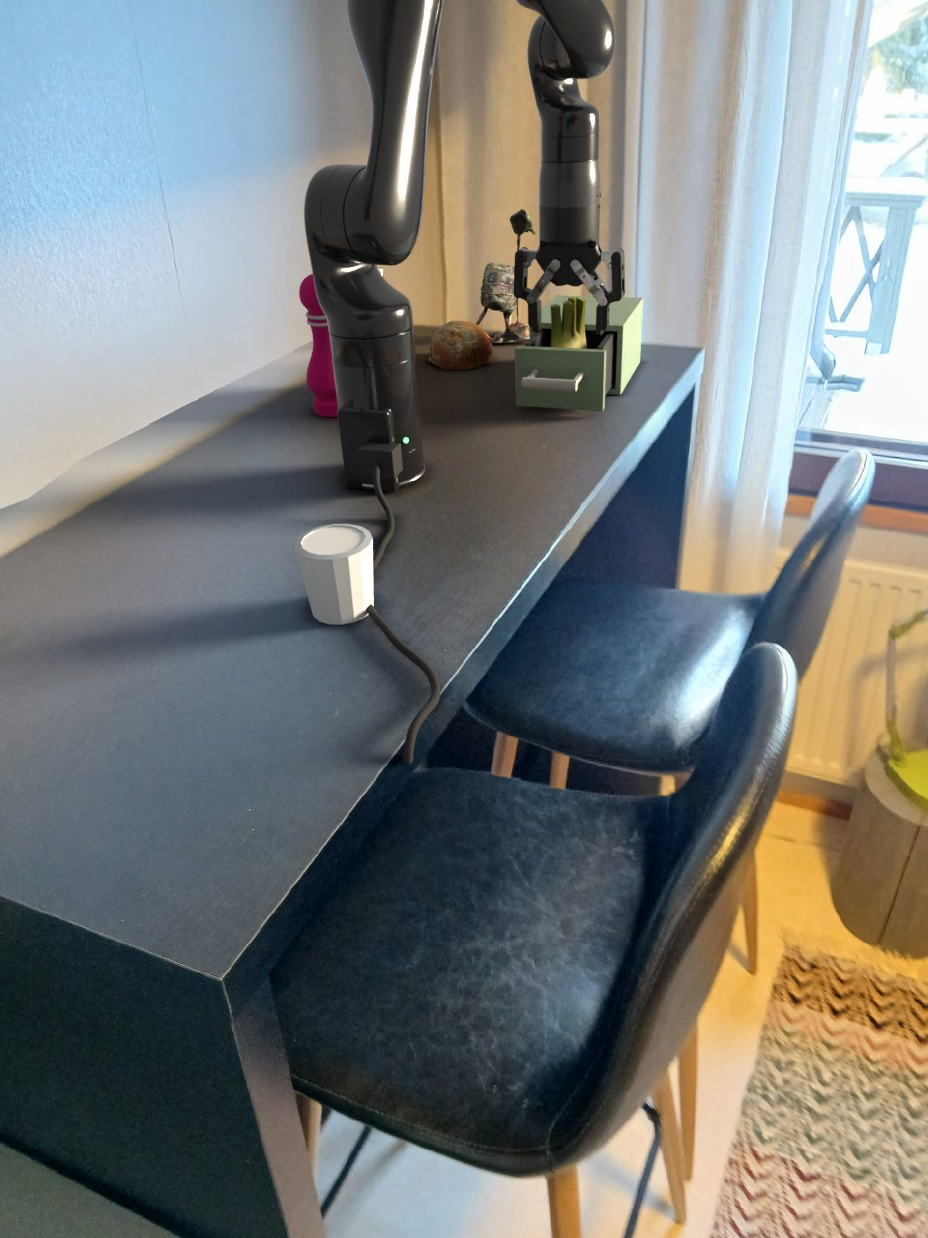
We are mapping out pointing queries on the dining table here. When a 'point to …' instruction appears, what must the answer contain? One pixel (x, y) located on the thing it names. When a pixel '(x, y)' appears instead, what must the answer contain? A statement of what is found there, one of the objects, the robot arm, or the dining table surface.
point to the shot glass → (337, 571)
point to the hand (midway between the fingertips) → (568, 332)
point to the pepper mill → (319, 353)
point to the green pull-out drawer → (565, 372)
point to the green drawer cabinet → (621, 319)
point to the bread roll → (460, 346)
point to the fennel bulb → (569, 324)
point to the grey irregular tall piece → (505, 287)
